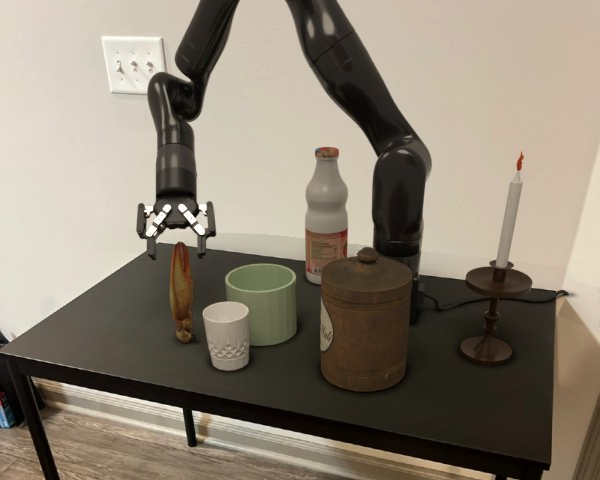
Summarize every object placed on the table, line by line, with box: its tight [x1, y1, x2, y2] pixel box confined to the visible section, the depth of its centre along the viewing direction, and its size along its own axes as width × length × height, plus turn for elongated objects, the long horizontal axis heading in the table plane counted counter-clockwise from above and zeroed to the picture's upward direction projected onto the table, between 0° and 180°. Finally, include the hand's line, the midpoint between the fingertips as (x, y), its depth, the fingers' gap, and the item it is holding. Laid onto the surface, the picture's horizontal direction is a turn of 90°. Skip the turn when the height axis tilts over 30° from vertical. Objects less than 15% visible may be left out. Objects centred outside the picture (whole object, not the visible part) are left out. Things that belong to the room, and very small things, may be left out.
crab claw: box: [169, 240, 196, 343], centre depth 110 cm, size 7×5×20 cm
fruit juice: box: [304, 146, 349, 286], centre depth 131 cm, size 9×9×28 cm
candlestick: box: [459, 150, 533, 367], centre depth 101 cm, size 11×11×35 cm
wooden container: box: [319, 246, 412, 393], centre depth 100 cm, size 15×15×22 cm
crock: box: [224, 263, 298, 347], centre depth 116 cm, size 13×13×11 cm
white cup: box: [202, 301, 250, 372], centre depth 107 cm, size 8×8×10 cm
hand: (176, 258), depth 110 cm, fingers open, 8 cm apart
